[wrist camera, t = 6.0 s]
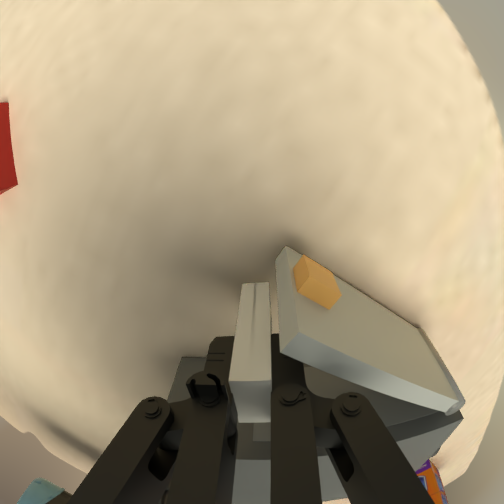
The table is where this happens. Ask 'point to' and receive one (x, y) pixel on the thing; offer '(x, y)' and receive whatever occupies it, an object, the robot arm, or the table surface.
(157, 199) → the table surface
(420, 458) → the camera body
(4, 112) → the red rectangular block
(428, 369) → the side door
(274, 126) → the table surface
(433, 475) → the game box
